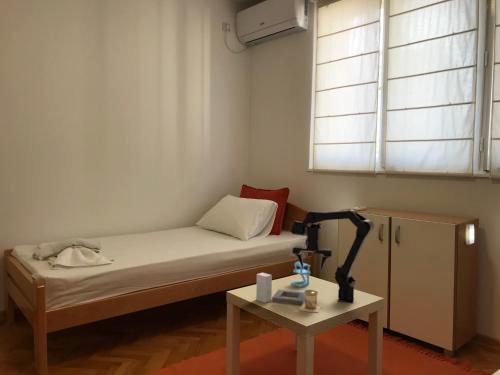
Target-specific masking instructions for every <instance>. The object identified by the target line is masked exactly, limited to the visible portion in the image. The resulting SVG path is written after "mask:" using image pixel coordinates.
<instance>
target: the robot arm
mask: <svg viewBox="0 0 500 375" xmlns="http://www.w3.org/2000/svg"><path fill="white" fill-rule="evenodd" d="M332 220H334V221H335V220H349V221H350V222H351V223H352V225H354V226H355V227H356V231H355V238H354V240H353V242H352V245H351V247H350V249H349V252H348V254H347V256H346V258H345V260H344V262H343V263H341V264H340V265H338V266H337V268H336V271H335V272H334V279H335V282H336V283H337V285H338V292H337V294H338V295H337V296H338V297H337V299H338V301H339V302H345V303H354V300H355V297H354V296H355V284H356V283H357V282H356V280H355V279H354V277H353V276H352V275H353V267H354V265H355V263H356V260H357V258H358V256H359V254H360V252H361V250H362V247H363V245H364V243H365V241H366V239H367V238H368V237H369V236H370V235H371V233H372V231H373V230H374V227H375V224H374V222H373V221H372V219H371V220H370V219H367V218H366V217H364V216H363V215H361V214H360V213H358V212H357V211H356V210H355V209H349V210H334V211H324V210H311V211H308V212H307V213H306V214H305V218H304V220H303V221H298V220H294V221H293V224H292V225H291V235H292V236H293V235H295V236H302V237H303V236H304V237H305V236H306V238H305V248H303V246H301V245H295V246H294V247H292V252H291V253H292V254H293V255H294V254H295V255H294V256H296V257H297V259H298V260H299V261H300V263H301V266H302V268H303V269H304V267H303V263H304V253H307V254H308V253H309V254H320V255H322V257H321V266H320V269H321V271H322V270H323V269H324V265H325V262H326V261H327V259H329V258H331V257H332V256H333V254H334V252H333V249H332V248H328V247H326V248H325V247H324V248H323V249H320V247H321V246H320V243H321V242H320V240H319V239H320V230H321V229H323V228H324V226H323V225H322V224H321V222H324V221H332ZM316 223H317V224H316ZM299 261H298V262H299Z"/></svg>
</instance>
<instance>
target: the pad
mask: <svg viewBox="0 0 500 375" xmlns="http://www.w3.org/2000/svg"><path fill="white" fill-rule="evenodd" d="M300 306H301V307H300V308H299V311H302V312H309V313H310V312H311V313H317V314H319V312H320V310H321V309H322V305H321V304H319V305H318V304H317V307H316V309H314V310H309V309H306V308H305V302H304V303H303V305H300Z"/></svg>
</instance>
